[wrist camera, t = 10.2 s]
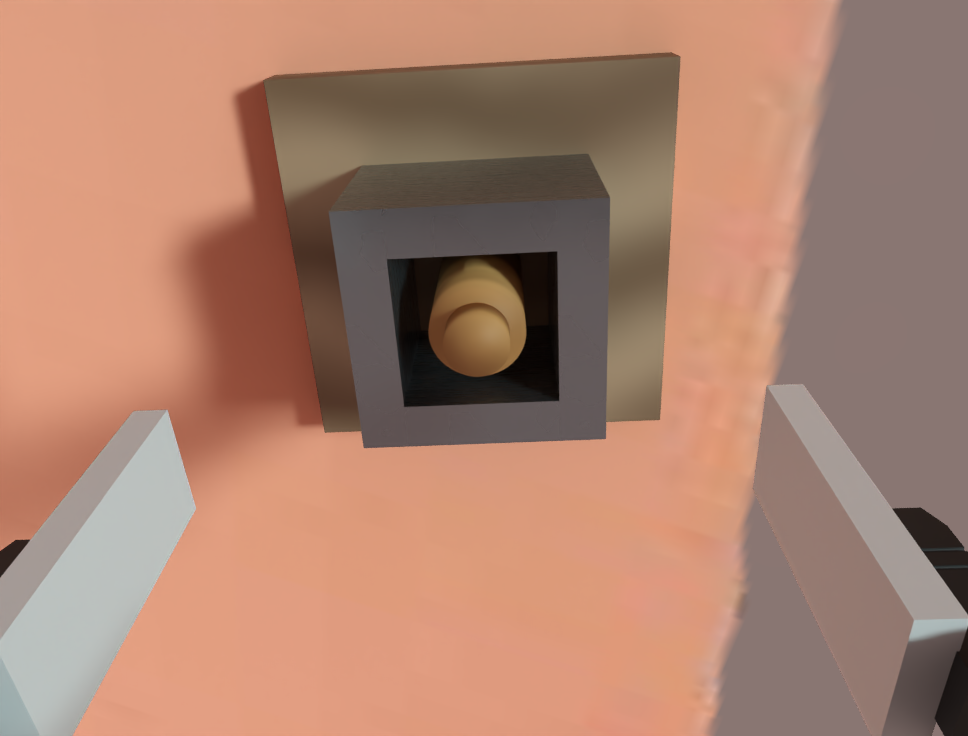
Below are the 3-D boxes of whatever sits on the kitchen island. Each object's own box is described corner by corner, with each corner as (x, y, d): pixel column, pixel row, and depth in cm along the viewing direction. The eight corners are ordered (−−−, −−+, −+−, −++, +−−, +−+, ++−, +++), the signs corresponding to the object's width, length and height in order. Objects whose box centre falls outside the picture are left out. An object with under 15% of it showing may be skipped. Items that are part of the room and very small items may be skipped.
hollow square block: (361, 165, 27) (328, 211, 22) (588, 153, 27) (610, 197, 22) (387, 366, 31) (363, 448, 26) (587, 357, 31) (605, 439, 25)
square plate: (275, 75, 27) (189, 113, 20) (671, 52, 27) (738, 82, 19) (331, 414, 34) (283, 541, 26) (653, 401, 33) (698, 527, 26)
